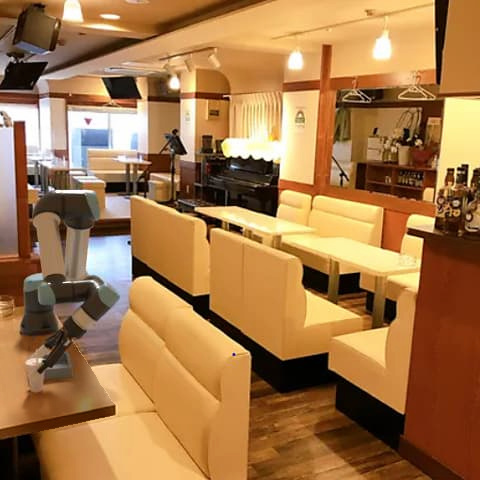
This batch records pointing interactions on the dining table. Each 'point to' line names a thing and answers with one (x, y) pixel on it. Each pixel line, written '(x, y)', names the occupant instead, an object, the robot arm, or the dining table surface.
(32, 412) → the dining table surface
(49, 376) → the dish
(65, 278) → the robot arm
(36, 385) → the smoothie
